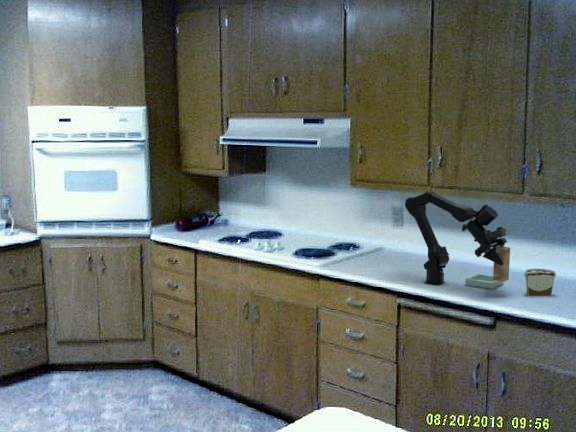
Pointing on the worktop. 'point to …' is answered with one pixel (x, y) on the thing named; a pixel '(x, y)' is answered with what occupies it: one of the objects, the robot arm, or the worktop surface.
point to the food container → (539, 282)
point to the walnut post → (502, 271)
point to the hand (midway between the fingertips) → (504, 263)
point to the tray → (483, 282)
